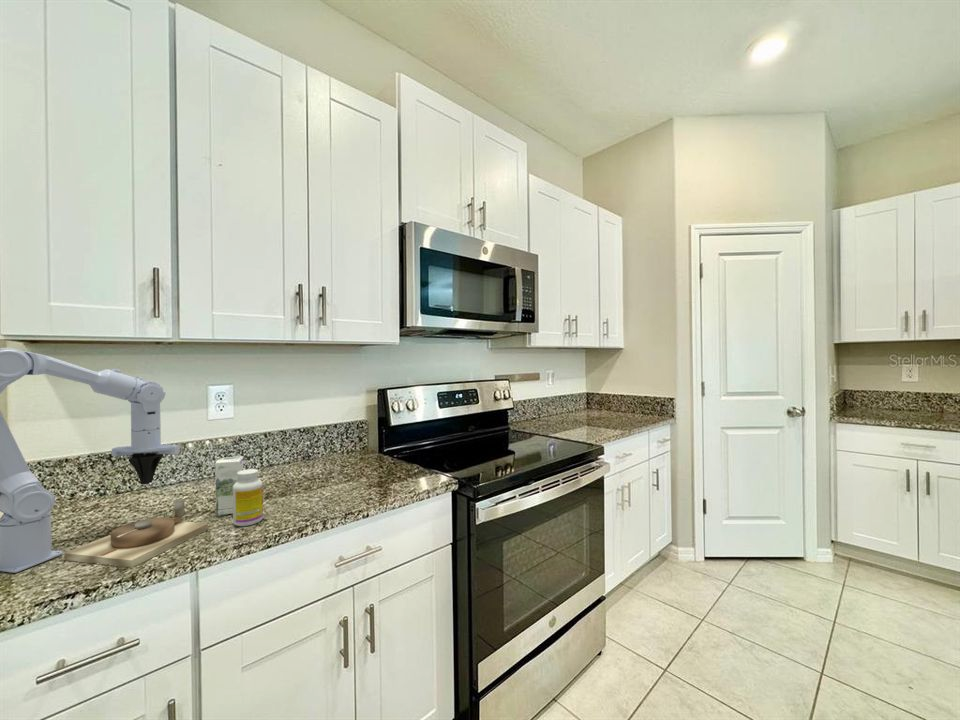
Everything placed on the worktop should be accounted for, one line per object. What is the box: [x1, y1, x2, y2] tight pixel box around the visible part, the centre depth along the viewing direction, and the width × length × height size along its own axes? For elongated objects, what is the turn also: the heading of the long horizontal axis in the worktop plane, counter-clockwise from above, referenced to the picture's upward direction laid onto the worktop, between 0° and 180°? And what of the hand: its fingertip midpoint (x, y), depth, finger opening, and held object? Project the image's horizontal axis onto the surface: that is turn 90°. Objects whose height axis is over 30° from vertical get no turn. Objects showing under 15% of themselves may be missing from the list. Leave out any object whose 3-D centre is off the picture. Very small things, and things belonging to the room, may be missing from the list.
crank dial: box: [110, 498, 186, 548], centre depth 93 cm, size 15×11×5 cm
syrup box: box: [214, 455, 244, 517], centre depth 110 cm, size 6×6×14 cm
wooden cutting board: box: [63, 520, 209, 569], centre depth 91 cm, size 17×18×2 cm
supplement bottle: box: [232, 468, 264, 527], centre depth 103 cm, size 7×7×13 cm
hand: (146, 483), depth 102 cm, fingers closed
